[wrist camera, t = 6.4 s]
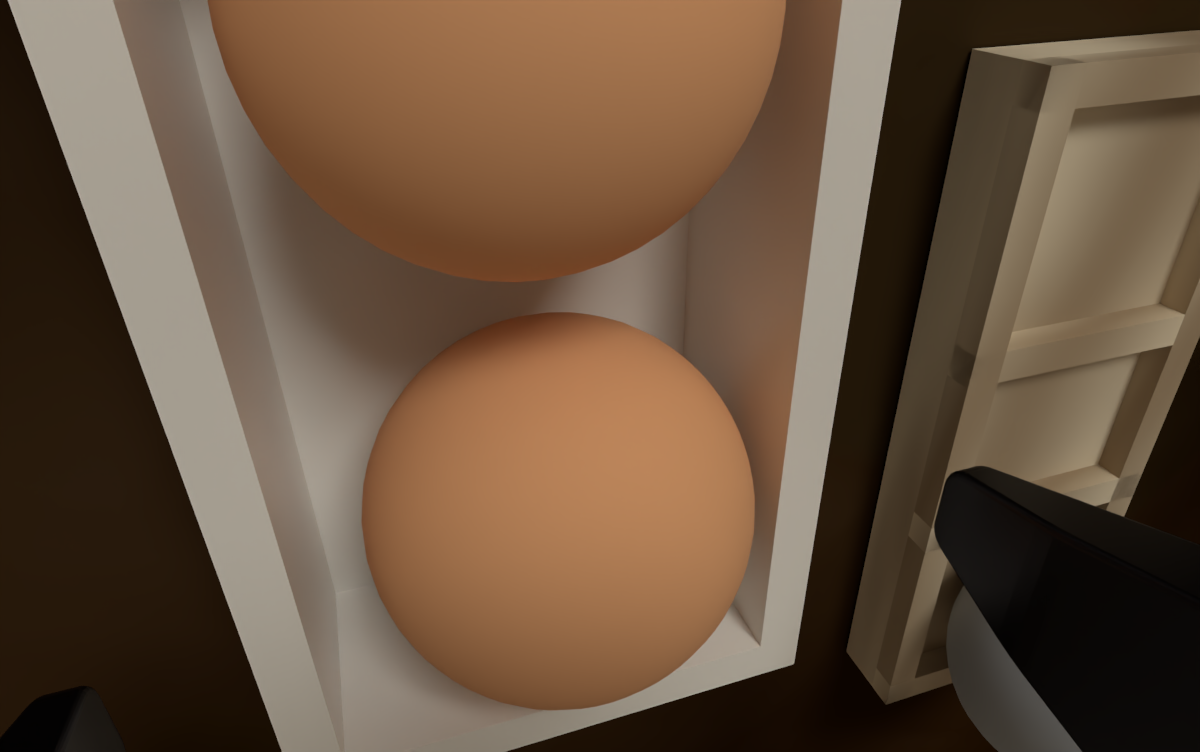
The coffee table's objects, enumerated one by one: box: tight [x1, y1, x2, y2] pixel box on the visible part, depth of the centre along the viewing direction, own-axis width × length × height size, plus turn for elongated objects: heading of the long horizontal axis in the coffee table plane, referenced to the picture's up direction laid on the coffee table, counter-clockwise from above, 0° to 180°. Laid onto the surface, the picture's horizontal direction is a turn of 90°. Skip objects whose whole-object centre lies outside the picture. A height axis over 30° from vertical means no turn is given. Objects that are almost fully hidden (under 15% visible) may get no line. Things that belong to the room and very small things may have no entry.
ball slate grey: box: [946, 586, 1082, 752], centre depth 15 cm, size 5×5×5 cm
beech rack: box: [846, 30, 1200, 705], centre depth 15 cm, size 5×13×2 cm, turn 1°
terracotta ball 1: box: [208, 0, 786, 282], centre depth 7 cm, size 5×5×5 cm
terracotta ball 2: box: [361, 312, 755, 710], centre depth 10 cm, size 5×5×5 cm
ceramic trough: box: [8, 0, 901, 752], centre depth 9 cm, size 7×12×4 cm, turn 1°
